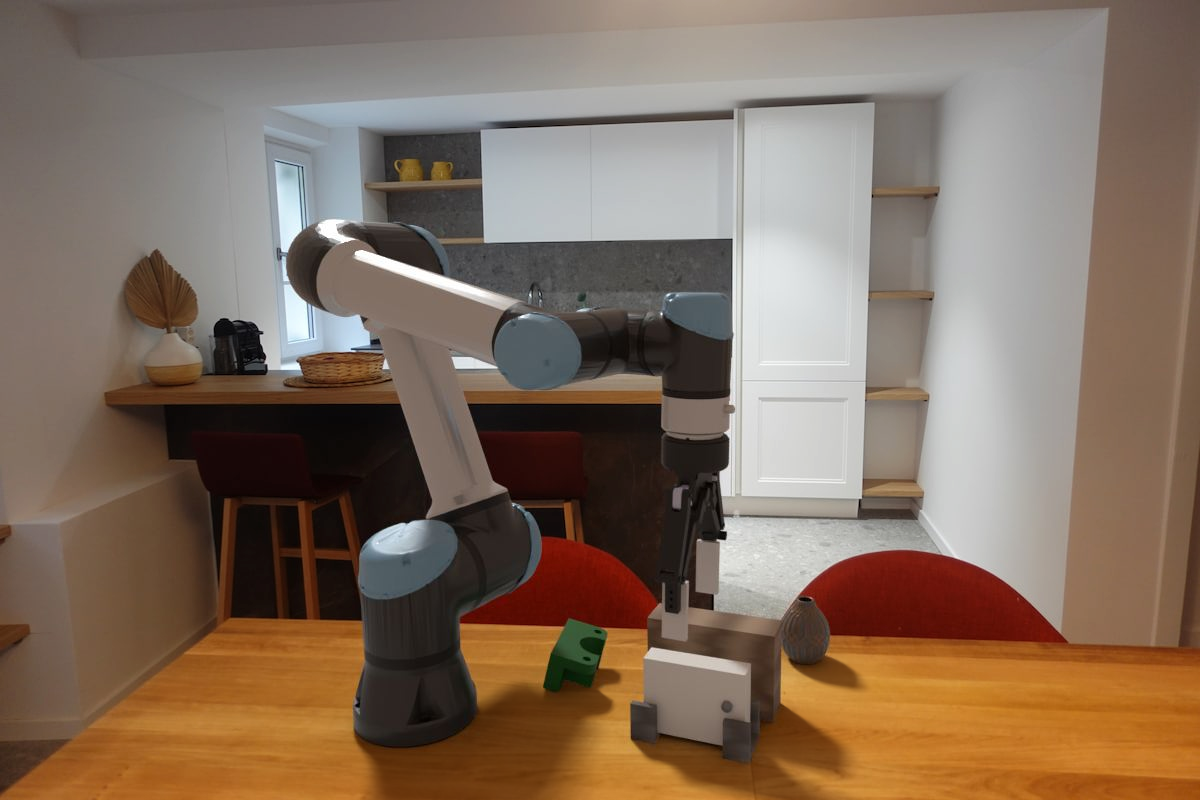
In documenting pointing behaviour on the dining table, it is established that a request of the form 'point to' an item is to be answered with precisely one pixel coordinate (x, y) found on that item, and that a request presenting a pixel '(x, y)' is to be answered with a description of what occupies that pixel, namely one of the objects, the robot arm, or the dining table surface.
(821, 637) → the vase
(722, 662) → the door
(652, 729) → the cabinet
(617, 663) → the dining table surface
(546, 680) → the clamp
